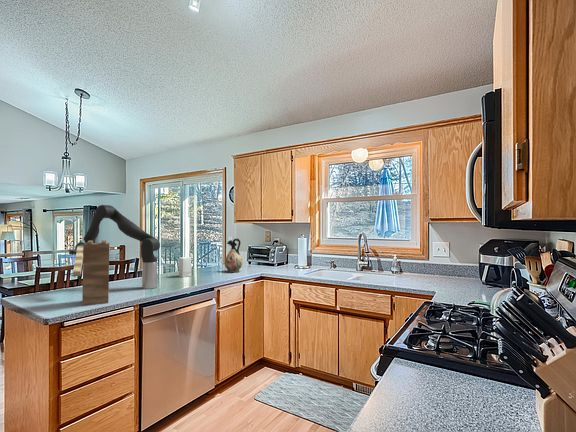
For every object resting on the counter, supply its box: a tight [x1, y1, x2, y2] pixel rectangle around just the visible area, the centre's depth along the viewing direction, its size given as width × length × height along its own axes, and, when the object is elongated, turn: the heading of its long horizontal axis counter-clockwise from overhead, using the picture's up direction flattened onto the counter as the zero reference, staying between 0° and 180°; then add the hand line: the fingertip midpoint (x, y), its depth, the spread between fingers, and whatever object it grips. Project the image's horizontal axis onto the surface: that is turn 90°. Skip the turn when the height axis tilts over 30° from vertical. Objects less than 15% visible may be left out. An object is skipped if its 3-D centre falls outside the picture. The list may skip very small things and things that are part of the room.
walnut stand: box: [81, 239, 110, 306], centre depth 179 cm, size 12×12×34 cm
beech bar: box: [72, 246, 83, 277], centre depth 196 cm, size 26×4×4 cm, turn 28°
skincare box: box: [178, 256, 192, 278], centre depth 263 cm, size 8×7×16 cm
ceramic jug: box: [224, 238, 243, 273], centre depth 289 cm, size 17×15×30 cm
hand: (79, 252), depth 200 cm, fingers closed on beech bar, 3 cm apart
